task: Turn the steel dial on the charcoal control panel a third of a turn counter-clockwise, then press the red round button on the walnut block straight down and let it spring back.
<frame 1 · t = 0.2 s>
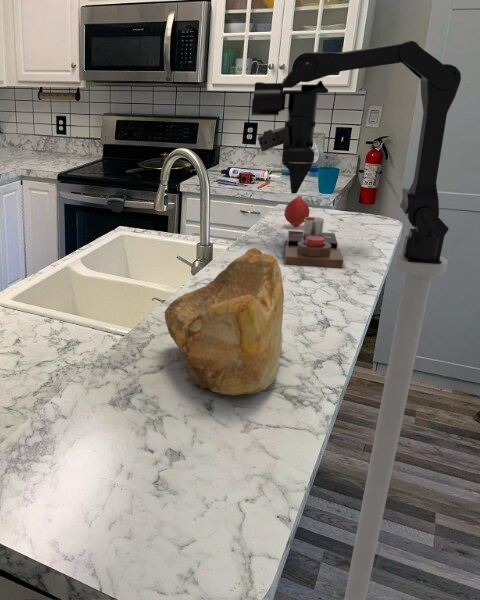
hand: (293, 188, 135), 13 cm above the counter, tool pointing down, fingers open, 9 cm apart
button block: (312, 259, 129), on the counter
rough brown rock: (219, 362, 88), on the counter
dial panel: (310, 247, 137), on the counter
button: (314, 241, 127), point 4 cm above the counter, slide at 0.1 cm
dial: (313, 227, 135), point 5 cm above the counter, hinge at 0.0°
onion: (295, 227, 153), on the counter
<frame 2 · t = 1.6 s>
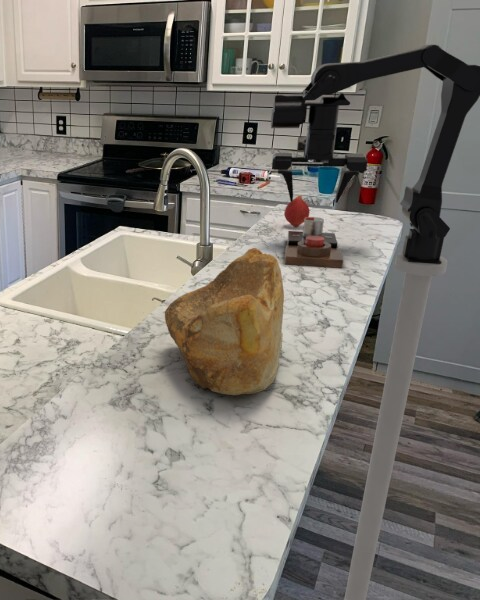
hand: (313, 201, 133), 10 cm above the counter, tool pointing down, fingers open, 9 cm apart
nothing on the counter moved.
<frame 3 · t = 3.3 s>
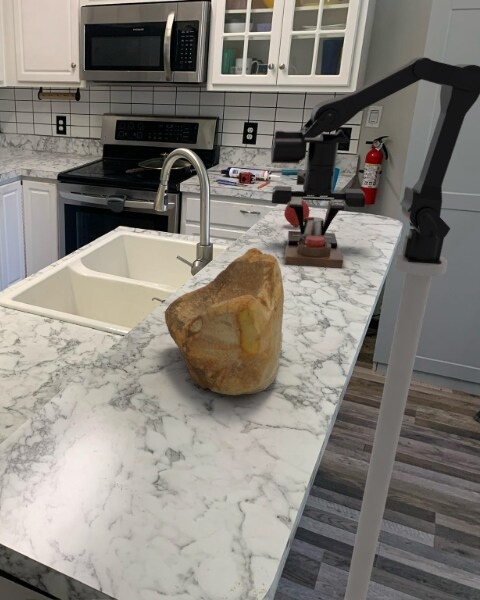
hand: (312, 234, 136), 3 cm above the counter, tool pointing down, fingers closed on dial, 4 cm apart
dial: (313, 227, 135), point 5 cm above the counter, hinge at 0.0°, touching gripper
everything else where it was.
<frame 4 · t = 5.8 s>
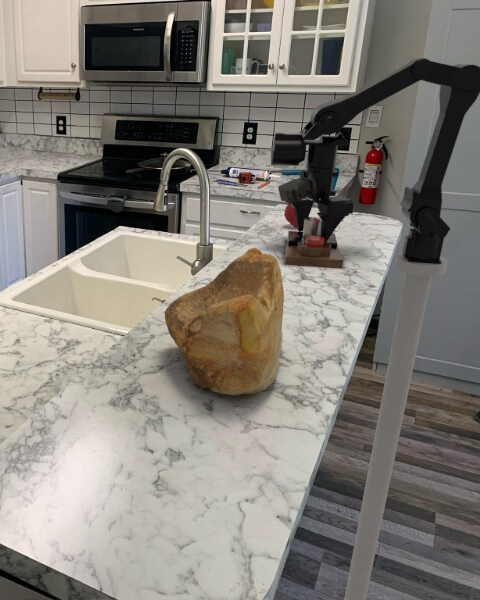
hand: (311, 236, 136), 3 cm above the counter, tool pointing down, fingers open, 9 cm apart
dial: (313, 227, 135), point 5 cm above the counter, hinge at 120.5°
everything else where it was.
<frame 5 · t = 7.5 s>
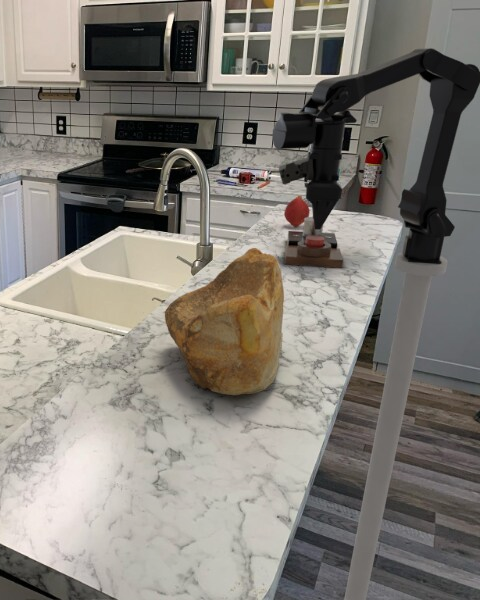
hand: (316, 223, 126), 8 cm above the counter, tool pointing down, fingers open, 8 cm apart
nothing on the counter moved.
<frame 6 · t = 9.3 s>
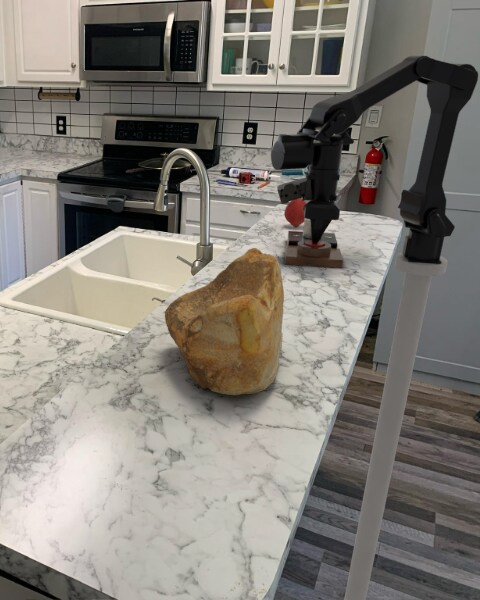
hand: (314, 242, 128), 4 cm above the counter, tool pointing down, fingers closed, pressing on button
button: (314, 246, 128), point 3 cm above the counter, slide at -0.9 cm, touching gripper
everything else where it was.
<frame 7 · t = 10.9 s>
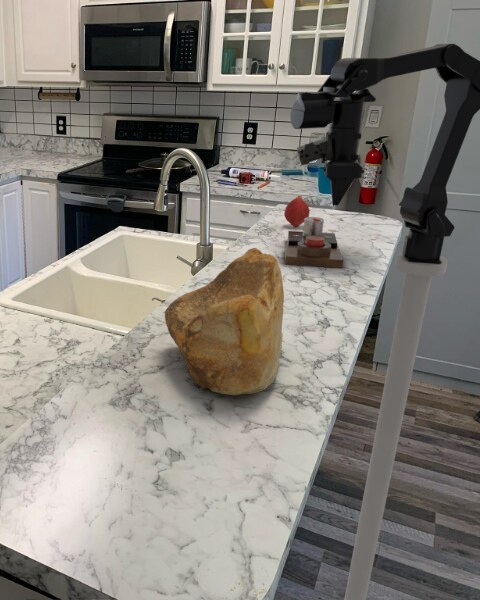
hand: (335, 204, 126), 11 cm above the counter, tool pointing down, fingers closed
button: (314, 241, 127), point 4 cm above the counter, slide at 0.1 cm
everything else where it was.
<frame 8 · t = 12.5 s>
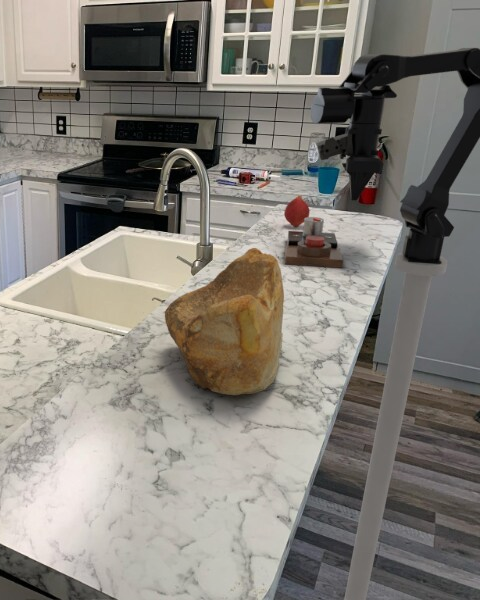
hand: (353, 200, 127), 12 cm above the counter, tool pointing down, fingers closed
nothing on the counter moved.
at the end: dial at +120° (first picture: +0°); button pushed in 1.1 cm at the most during the clip, back to where it started at the end; button slide at 0.1 cm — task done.
